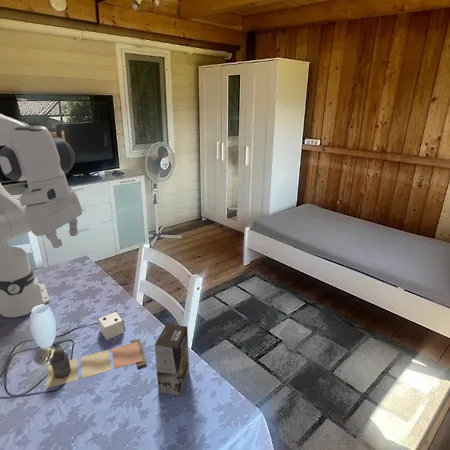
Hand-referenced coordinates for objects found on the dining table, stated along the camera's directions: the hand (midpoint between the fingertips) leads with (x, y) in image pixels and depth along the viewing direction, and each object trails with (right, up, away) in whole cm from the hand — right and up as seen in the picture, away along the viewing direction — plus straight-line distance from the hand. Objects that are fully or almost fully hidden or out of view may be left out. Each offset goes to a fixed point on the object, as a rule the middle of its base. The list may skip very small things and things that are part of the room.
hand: (66, 240), depth 87 cm
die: (+4, -33, +24) cm, 41 cm away
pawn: (-5, -38, +7) cm, 39 cm away
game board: (+4, -38, +11) cm, 40 cm away
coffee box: (+28, -40, +6) cm, 49 cm away
